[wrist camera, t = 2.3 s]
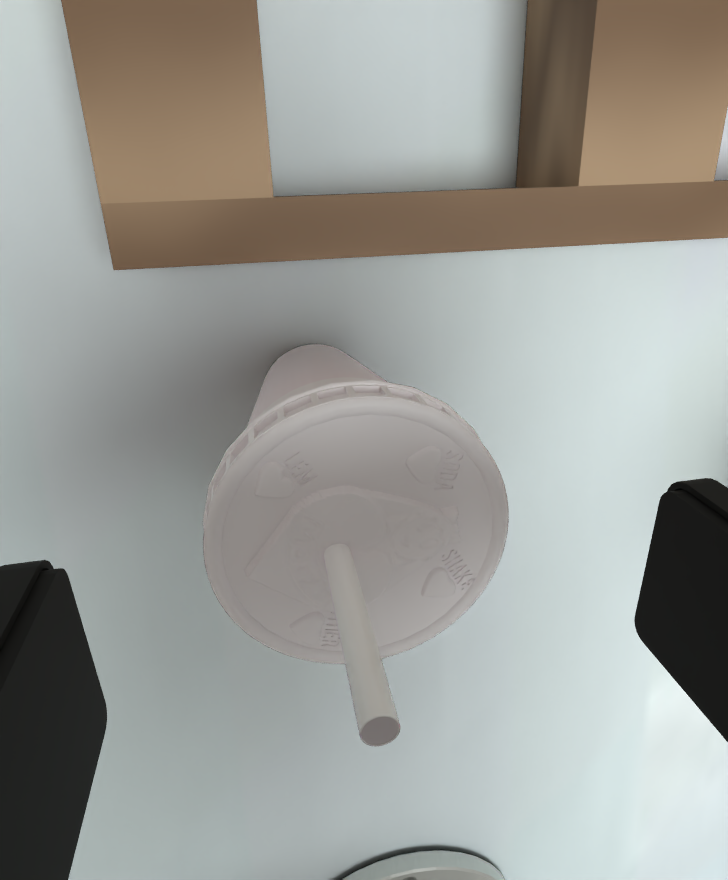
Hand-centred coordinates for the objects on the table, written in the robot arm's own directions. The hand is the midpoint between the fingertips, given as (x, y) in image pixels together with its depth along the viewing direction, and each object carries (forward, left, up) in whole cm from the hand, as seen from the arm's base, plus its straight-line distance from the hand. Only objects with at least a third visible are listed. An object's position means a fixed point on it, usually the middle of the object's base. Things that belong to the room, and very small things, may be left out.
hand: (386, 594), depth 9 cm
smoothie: (-1, 0, -12) cm, 12 cm away
